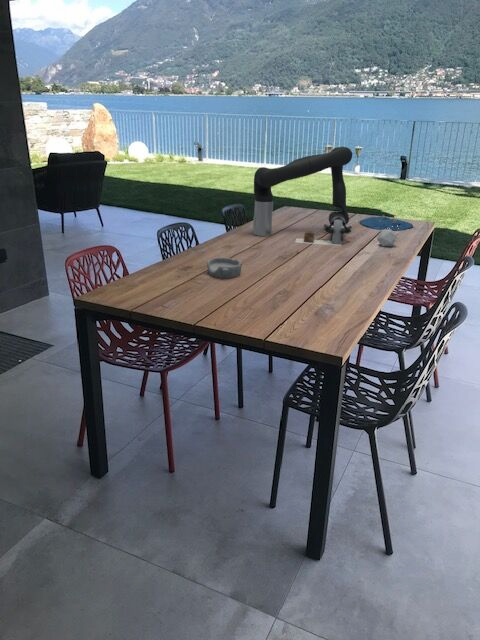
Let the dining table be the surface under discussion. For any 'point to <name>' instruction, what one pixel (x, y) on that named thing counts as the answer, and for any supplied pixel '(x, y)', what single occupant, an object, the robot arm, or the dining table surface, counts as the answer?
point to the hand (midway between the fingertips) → (337, 232)
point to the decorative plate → (385, 223)
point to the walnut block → (309, 236)
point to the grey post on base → (335, 239)
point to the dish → (224, 267)
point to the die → (386, 238)
